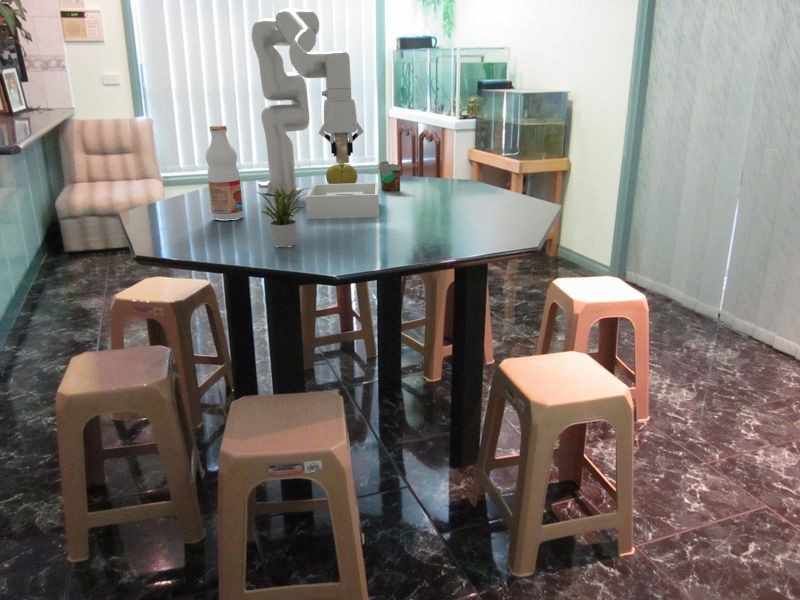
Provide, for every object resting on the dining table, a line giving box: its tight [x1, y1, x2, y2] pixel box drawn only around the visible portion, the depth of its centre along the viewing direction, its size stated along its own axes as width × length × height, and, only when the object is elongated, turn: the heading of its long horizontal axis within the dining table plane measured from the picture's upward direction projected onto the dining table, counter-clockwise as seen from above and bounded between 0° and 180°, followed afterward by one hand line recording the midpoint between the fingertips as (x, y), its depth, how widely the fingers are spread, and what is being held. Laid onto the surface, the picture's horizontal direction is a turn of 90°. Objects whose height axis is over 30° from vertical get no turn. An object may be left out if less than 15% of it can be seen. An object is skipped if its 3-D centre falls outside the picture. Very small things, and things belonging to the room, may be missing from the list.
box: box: [305, 182, 380, 220], centre depth 208 cm, size 22×22×7 cm
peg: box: [334, 133, 350, 164], centre depth 204 cm, size 4×4×10 cm
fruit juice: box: [205, 125, 244, 219], centre depth 198 cm, size 9×9×28 cm
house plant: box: [256, 184, 309, 247], centre depth 166 cm, size 14×14×16 cm
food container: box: [377, 160, 402, 192], centre depth 243 cm, size 12×6×10 cm, turn 25°
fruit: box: [325, 163, 358, 184], centre depth 245 cm, size 11×12×10 cm
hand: (342, 155), depth 205 cm, fingers closed on peg, 4 cm apart
